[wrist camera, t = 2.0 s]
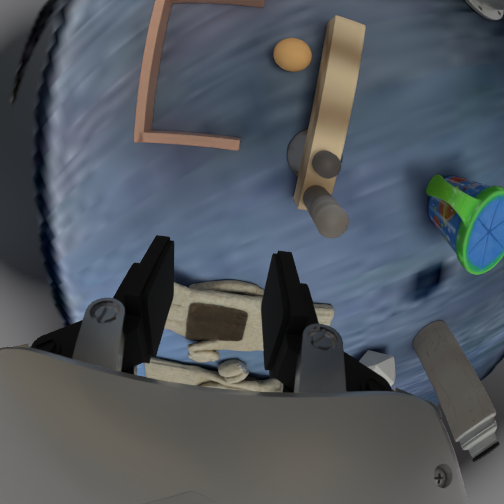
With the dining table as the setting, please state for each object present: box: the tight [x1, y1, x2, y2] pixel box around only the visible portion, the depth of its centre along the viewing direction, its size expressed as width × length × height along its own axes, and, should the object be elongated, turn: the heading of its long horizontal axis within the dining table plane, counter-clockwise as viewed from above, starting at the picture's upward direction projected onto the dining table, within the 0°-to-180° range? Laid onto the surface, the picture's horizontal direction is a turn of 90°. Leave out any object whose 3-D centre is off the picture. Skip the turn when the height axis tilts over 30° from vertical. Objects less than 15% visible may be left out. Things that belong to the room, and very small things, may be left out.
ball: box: [273, 38, 312, 72], centre depth 21 cm, size 4×4×4 cm
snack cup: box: [426, 175, 504, 274], centre depth 26 cm, size 16×10×10 cm
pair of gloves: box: [145, 280, 334, 392], centre depth 41 cm, size 30×26×5 cm
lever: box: [293, 15, 366, 238], centre depth 21 cm, size 20×3×9 cm, turn 171°
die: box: [359, 350, 395, 386], centre depth 42 cm, size 8×9×10 cm
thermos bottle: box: [413, 321, 499, 462], centre depth 31 cm, size 8×8×28 cm
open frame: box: [134, 0, 265, 151], centre depth 21 cm, size 17×10×2 cm, turn 171°
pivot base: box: [287, 129, 342, 177], centre depth 27 cm, size 6×6×1 cm
